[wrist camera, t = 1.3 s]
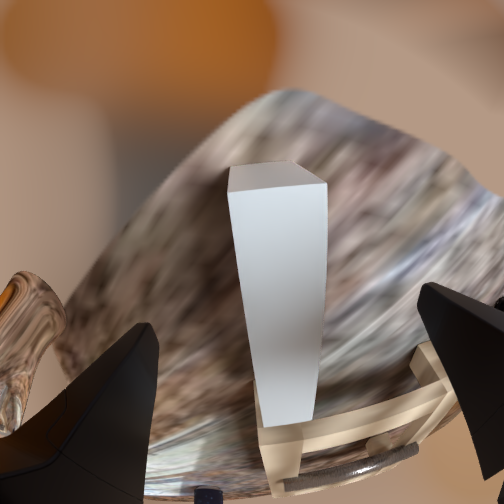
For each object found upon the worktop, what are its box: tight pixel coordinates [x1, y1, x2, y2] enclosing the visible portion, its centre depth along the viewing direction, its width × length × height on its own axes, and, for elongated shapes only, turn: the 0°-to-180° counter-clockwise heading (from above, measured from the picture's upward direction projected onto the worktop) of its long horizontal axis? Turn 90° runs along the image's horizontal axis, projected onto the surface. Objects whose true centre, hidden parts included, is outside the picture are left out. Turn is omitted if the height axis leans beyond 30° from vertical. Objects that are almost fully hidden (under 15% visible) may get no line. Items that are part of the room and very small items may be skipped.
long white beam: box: [227, 160, 328, 427], centre depth 13 cm, size 3×14×6 cm, turn 6°
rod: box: [283, 441, 419, 492], centre depth 19 cm, size 15×2×2 cm, turn 96°
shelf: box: [253, 340, 458, 498], centre depth 23 cm, size 18×24×6 cm
